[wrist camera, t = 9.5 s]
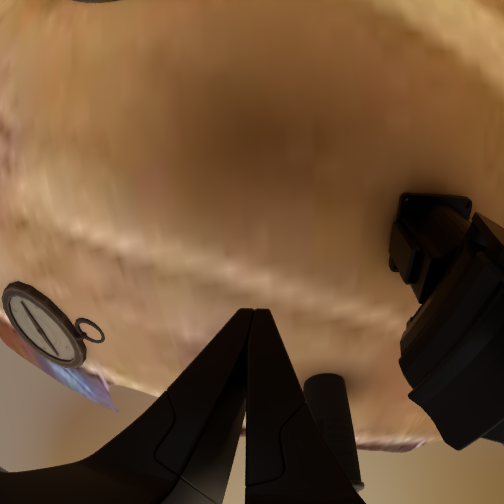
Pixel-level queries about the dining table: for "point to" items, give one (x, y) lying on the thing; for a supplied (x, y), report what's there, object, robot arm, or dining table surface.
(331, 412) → the drinking cup
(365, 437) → the dining table surface
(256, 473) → the robot arm
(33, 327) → the compass
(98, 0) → the base plate
